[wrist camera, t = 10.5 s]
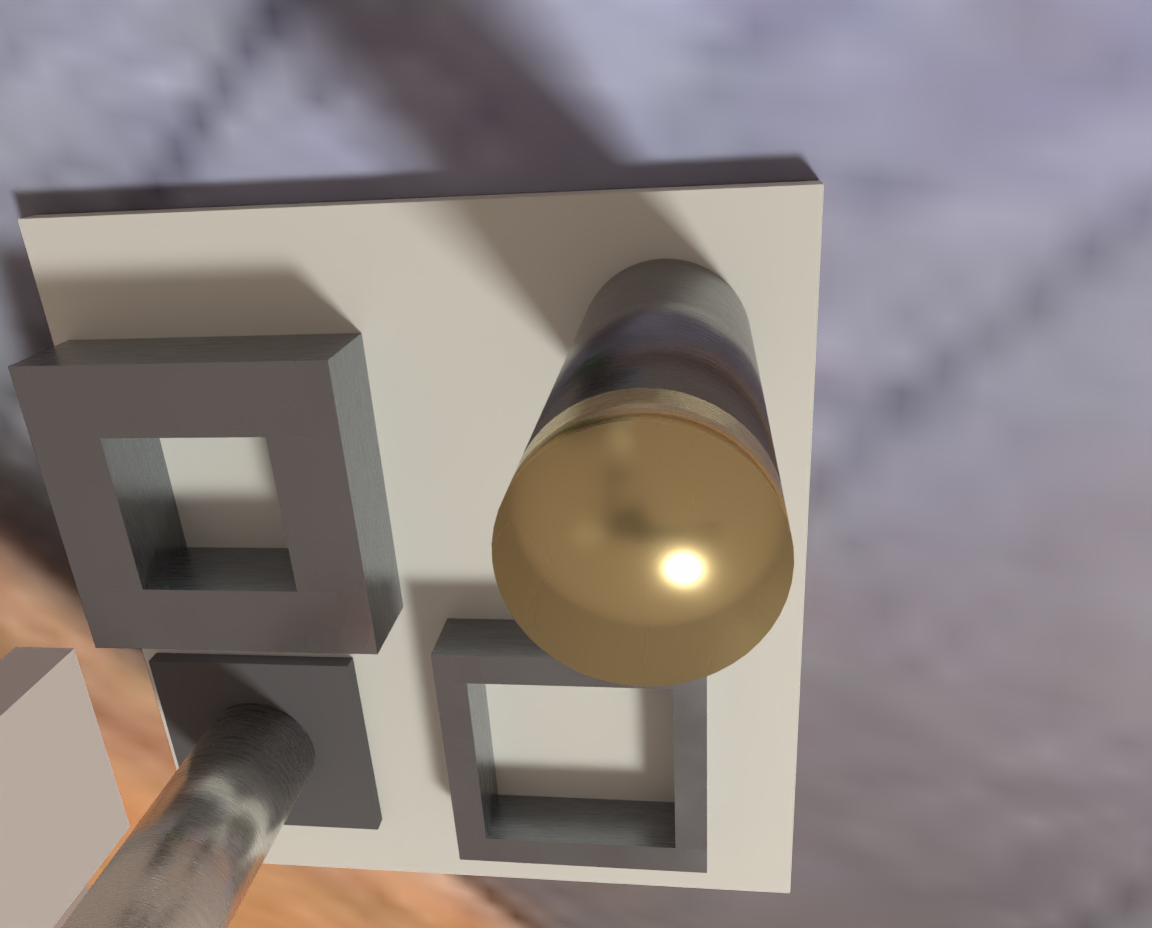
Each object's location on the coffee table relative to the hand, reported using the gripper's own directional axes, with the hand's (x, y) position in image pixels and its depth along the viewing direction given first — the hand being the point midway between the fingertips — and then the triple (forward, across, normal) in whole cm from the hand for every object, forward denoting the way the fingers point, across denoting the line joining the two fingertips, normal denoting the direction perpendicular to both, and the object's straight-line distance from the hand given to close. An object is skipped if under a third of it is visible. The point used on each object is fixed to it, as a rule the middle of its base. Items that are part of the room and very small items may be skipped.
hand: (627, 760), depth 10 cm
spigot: (+16, 0, 0) cm, 16 cm away
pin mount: (+16, -13, -4) cm, 21 cm away
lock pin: (+16, -14, -14) cm, 25 cm away
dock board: (+17, -7, -8) cm, 20 cm away
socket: (+16, -3, -12) cm, 21 cm away
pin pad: (+16, -14, -14) cm, 25 cm away
